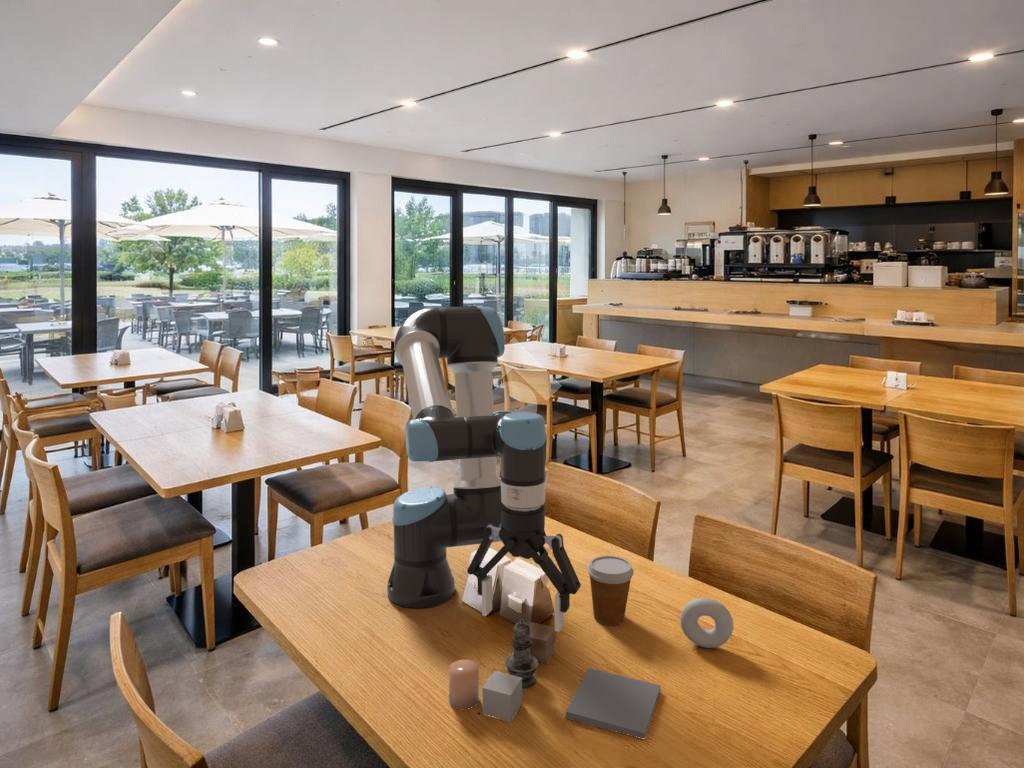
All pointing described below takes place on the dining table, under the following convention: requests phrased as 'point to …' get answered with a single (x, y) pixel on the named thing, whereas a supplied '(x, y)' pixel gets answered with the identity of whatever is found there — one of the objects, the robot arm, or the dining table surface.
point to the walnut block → (542, 642)
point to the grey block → (502, 696)
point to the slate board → (614, 702)
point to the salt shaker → (522, 656)
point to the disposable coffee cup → (610, 588)
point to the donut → (703, 636)
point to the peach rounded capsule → (463, 684)
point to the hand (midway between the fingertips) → (522, 620)
